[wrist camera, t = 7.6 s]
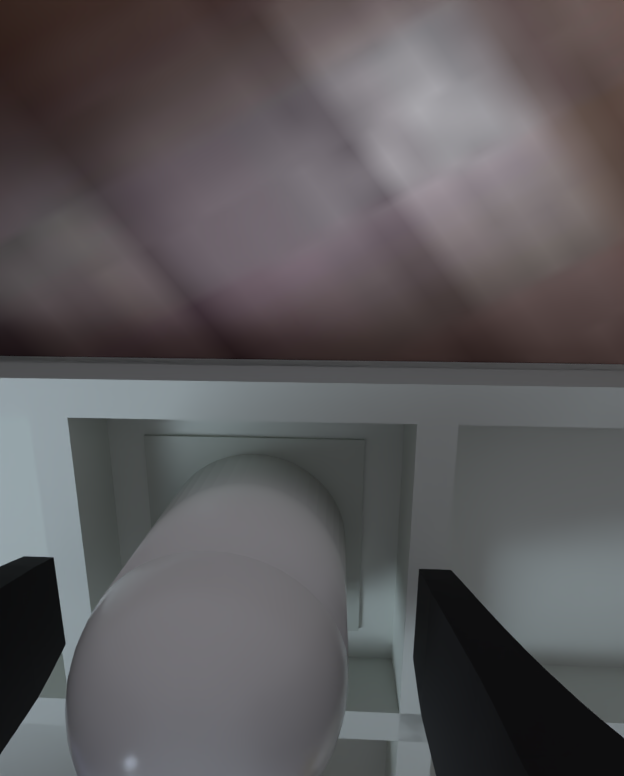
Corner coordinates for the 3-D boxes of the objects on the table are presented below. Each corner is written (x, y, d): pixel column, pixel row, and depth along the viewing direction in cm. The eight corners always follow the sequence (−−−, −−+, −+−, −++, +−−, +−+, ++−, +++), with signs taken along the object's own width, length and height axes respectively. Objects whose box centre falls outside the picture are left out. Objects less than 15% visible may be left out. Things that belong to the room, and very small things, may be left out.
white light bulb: (342, 618, 12) (348, 958, 6) (173, 611, 12) (17, 932, 6) (347, 456, 11) (358, 674, 5) (161, 451, 11) (-38, 654, 5)
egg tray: (650, 877, 15) (708, 989, 13) (-90, 834, 16) (-162, 930, 14) (774, 366, 11) (891, 391, 9) (-216, 352, 12) (-348, 372, 10)
